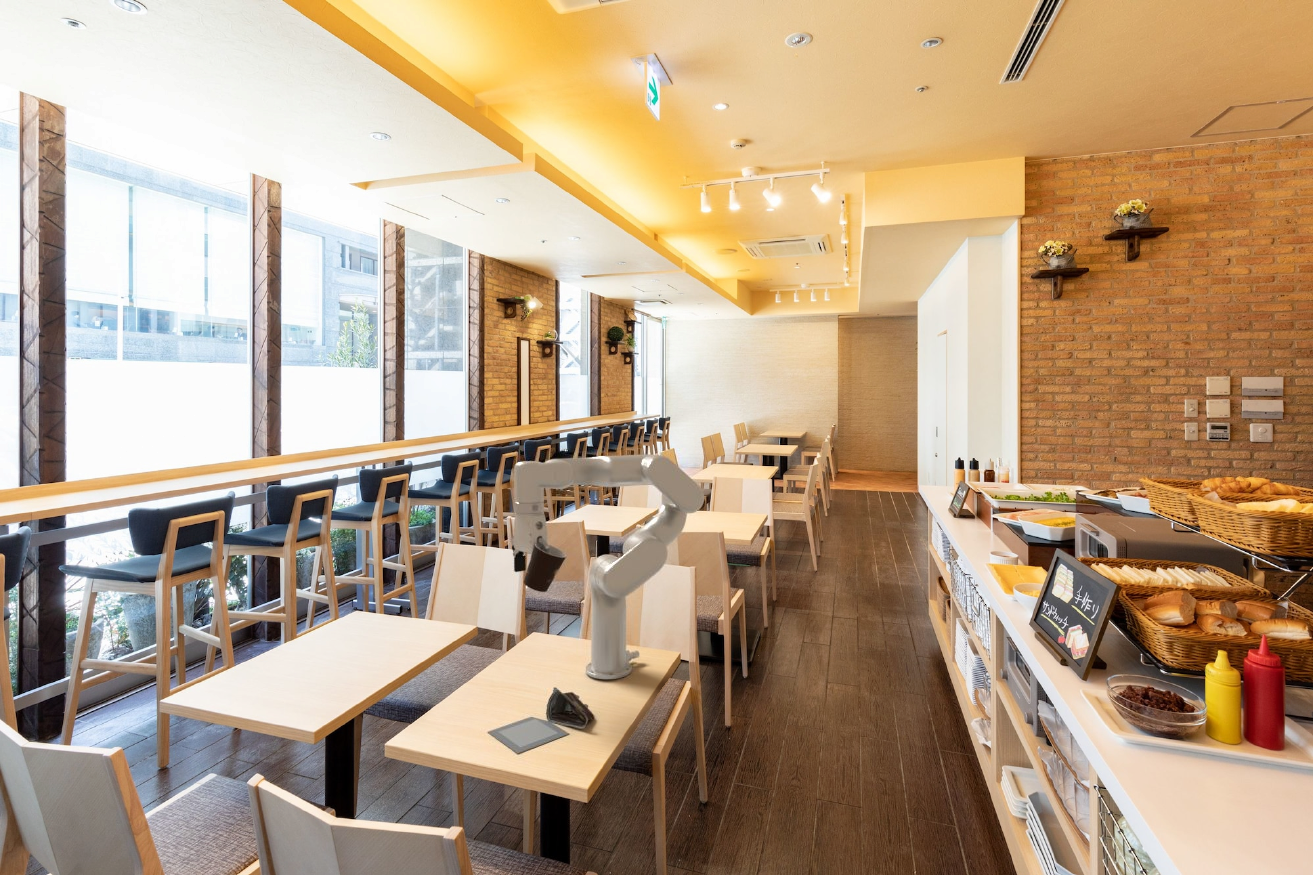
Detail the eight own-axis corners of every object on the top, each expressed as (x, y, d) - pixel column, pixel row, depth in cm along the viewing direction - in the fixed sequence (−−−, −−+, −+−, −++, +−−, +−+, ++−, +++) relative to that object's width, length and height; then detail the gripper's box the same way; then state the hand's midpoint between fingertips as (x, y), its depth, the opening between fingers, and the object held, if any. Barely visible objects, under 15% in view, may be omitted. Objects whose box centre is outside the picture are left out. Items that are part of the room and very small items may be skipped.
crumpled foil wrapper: (607, 718, 148) (582, 675, 154) (589, 722, 142) (564, 676, 148) (580, 744, 149) (557, 700, 156) (562, 749, 144) (538, 702, 150)
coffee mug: (537, 595, 155) (553, 557, 155) (512, 578, 159) (527, 542, 159) (564, 592, 166) (579, 557, 165) (540, 577, 170) (554, 542, 169)
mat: (537, 714, 151) (537, 714, 151) (569, 734, 142) (569, 733, 142) (487, 732, 142) (487, 731, 142) (517, 754, 133) (517, 753, 133)
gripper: (560, 510, 162) (560, 577, 162) (524, 504, 175) (524, 567, 175) (534, 513, 157) (534, 582, 157) (499, 507, 170) (500, 571, 170)
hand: (529, 574), depth 166 cm, fingers open, 9 cm apart
